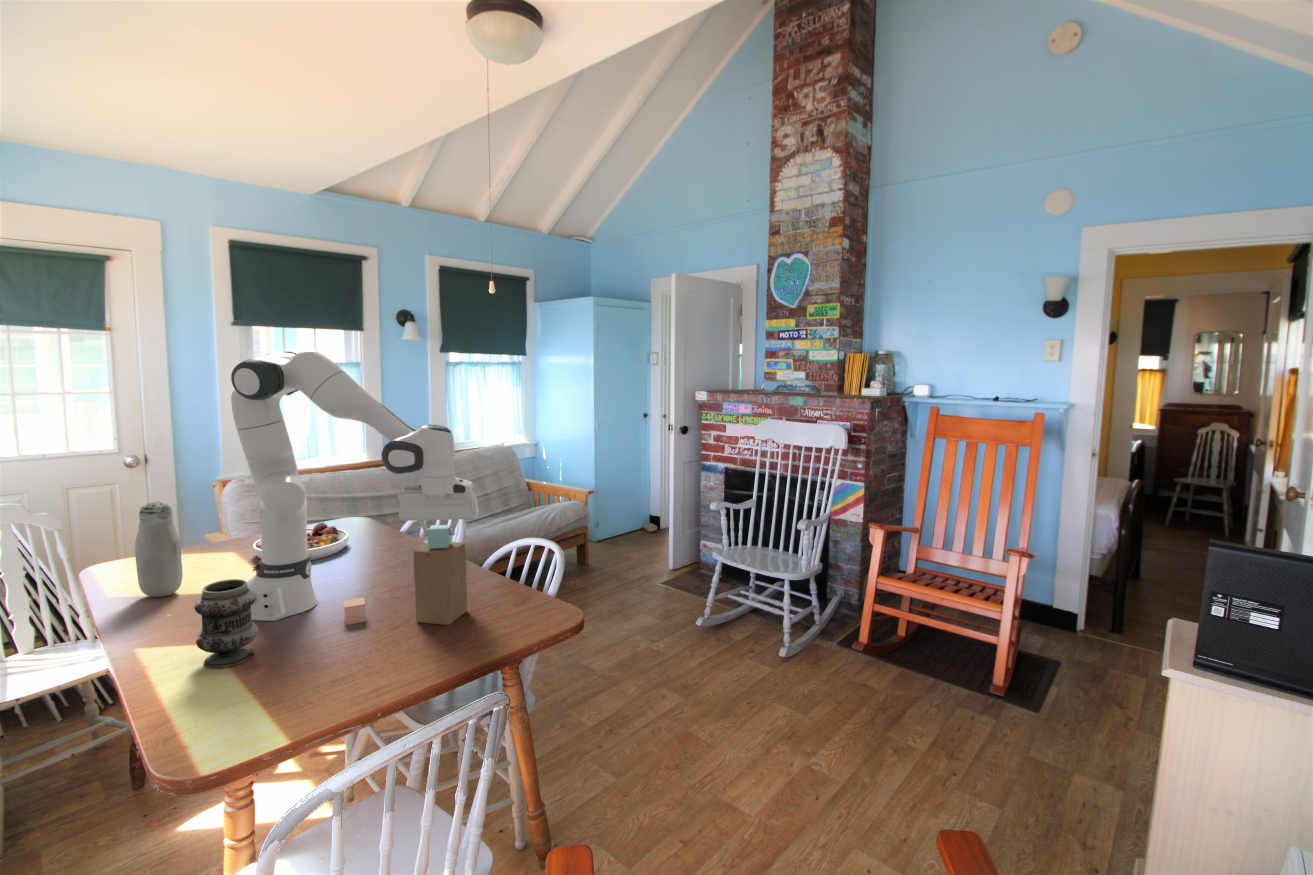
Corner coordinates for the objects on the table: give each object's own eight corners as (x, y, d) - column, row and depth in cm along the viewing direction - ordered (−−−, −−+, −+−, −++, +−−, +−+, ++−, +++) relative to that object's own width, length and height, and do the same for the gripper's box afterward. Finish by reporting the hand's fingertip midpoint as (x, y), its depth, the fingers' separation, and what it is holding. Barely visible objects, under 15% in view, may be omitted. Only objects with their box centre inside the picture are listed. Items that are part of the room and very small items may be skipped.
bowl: (321, 566, 209) (320, 544, 208) (233, 565, 209) (232, 543, 208) (363, 540, 238) (362, 521, 237) (286, 539, 238) (285, 520, 238)
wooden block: (449, 626, 164) (447, 553, 161) (415, 622, 165) (412, 550, 163) (467, 611, 173) (465, 542, 171) (435, 607, 175) (433, 540, 173)
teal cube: (428, 548, 164) (427, 530, 163) (432, 542, 169) (431, 525, 168) (447, 547, 164) (447, 529, 164) (451, 542, 169) (450, 524, 169)
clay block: (345, 625, 163) (344, 607, 163) (344, 618, 168) (343, 600, 167) (366, 621, 166) (365, 603, 165) (364, 614, 170) (363, 597, 169)
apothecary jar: (250, 667, 141) (244, 591, 138) (188, 674, 137) (181, 597, 135) (267, 643, 152) (262, 573, 150) (210, 649, 149) (204, 578, 146)
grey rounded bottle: (132, 603, 175) (123, 507, 172) (153, 589, 185) (145, 499, 182) (172, 600, 177) (163, 506, 174) (190, 587, 187) (183, 498, 184)
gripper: (394, 488, 160) (396, 539, 162) (475, 486, 163) (476, 537, 165) (400, 483, 166) (402, 533, 168) (478, 482, 169) (479, 530, 171)
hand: (439, 535), depth 166 cm, fingers closed on teal cube, 5 cm apart
